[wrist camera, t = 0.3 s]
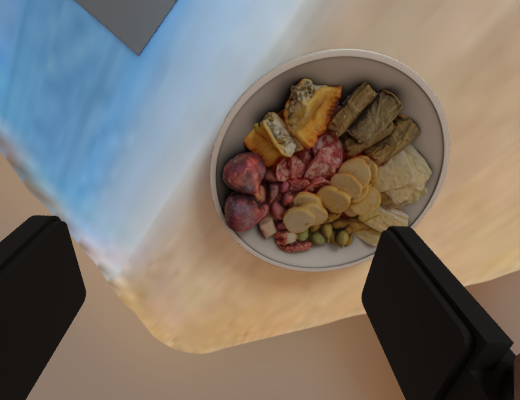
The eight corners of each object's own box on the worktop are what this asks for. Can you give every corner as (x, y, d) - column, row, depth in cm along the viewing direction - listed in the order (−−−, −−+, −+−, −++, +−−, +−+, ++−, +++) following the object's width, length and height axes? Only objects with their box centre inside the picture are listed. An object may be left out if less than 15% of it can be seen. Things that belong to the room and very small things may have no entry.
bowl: (417, 4, 33) (463, -5, 26) (435, 217, 47) (468, 247, 40) (173, 102, 37) (157, 117, 30) (257, 272, 51) (260, 310, 44)
